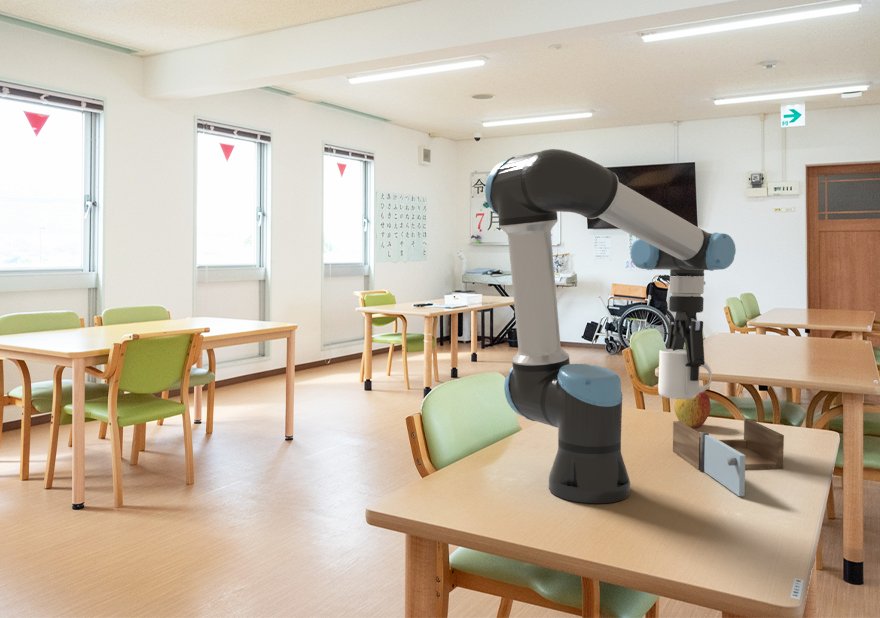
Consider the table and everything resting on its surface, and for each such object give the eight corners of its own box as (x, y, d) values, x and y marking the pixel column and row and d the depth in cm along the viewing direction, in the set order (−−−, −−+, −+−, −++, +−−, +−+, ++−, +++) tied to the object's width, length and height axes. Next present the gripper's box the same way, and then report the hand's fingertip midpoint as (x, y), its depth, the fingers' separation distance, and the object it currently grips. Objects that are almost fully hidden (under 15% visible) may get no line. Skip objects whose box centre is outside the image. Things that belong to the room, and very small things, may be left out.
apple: (710, 431, 176) (711, 392, 175) (672, 429, 179) (673, 390, 178) (710, 423, 184) (710, 386, 184) (674, 421, 187) (674, 384, 187)
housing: (701, 472, 142) (702, 434, 142) (672, 451, 158) (673, 416, 157) (787, 470, 143) (788, 432, 143) (749, 449, 159) (750, 415, 158)
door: (698, 471, 142) (699, 435, 141) (708, 471, 142) (709, 434, 142) (732, 496, 127) (733, 455, 127) (744, 496, 127) (745, 455, 127)
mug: (704, 403, 155) (706, 355, 155) (652, 396, 163) (653, 351, 162) (716, 397, 162) (718, 352, 161) (665, 391, 169) (667, 348, 169)
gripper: (723, 297, 151) (719, 399, 152) (683, 293, 173) (681, 383, 174) (689, 297, 151) (686, 399, 152) (654, 293, 172) (651, 383, 174)
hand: (683, 390), depth 163 cm, fingers closed on mug, 9 cm apart
